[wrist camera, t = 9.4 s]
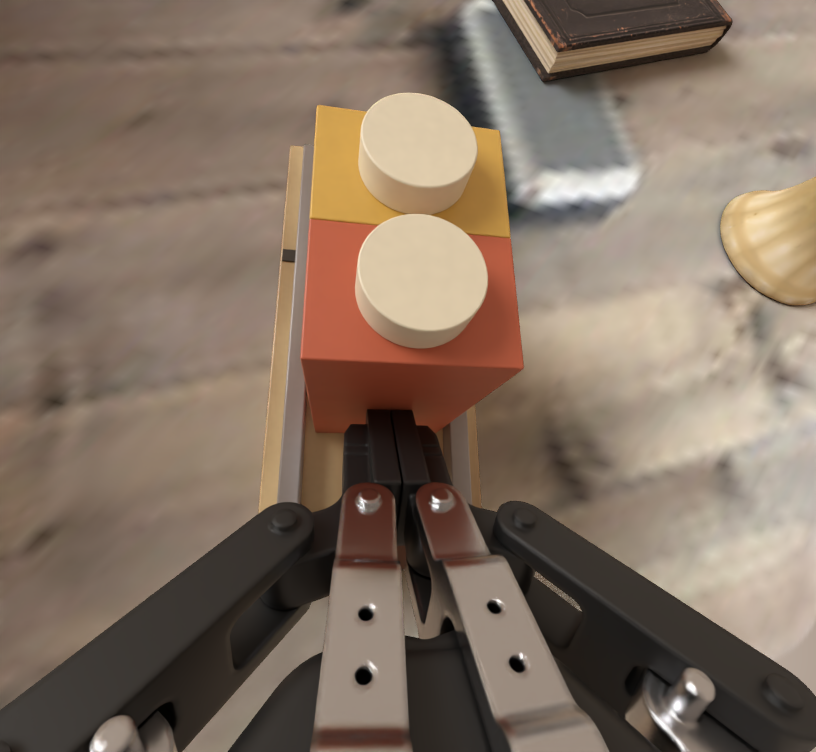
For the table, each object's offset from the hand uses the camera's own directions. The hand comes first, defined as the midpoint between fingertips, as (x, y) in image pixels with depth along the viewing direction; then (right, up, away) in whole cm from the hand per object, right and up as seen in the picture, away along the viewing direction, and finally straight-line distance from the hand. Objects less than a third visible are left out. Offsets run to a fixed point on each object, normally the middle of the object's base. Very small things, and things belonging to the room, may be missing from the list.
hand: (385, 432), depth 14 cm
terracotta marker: (-1, +1, +4) cm, 4 cm away
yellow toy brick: (-1, +5, +5) cm, 7 cm away
